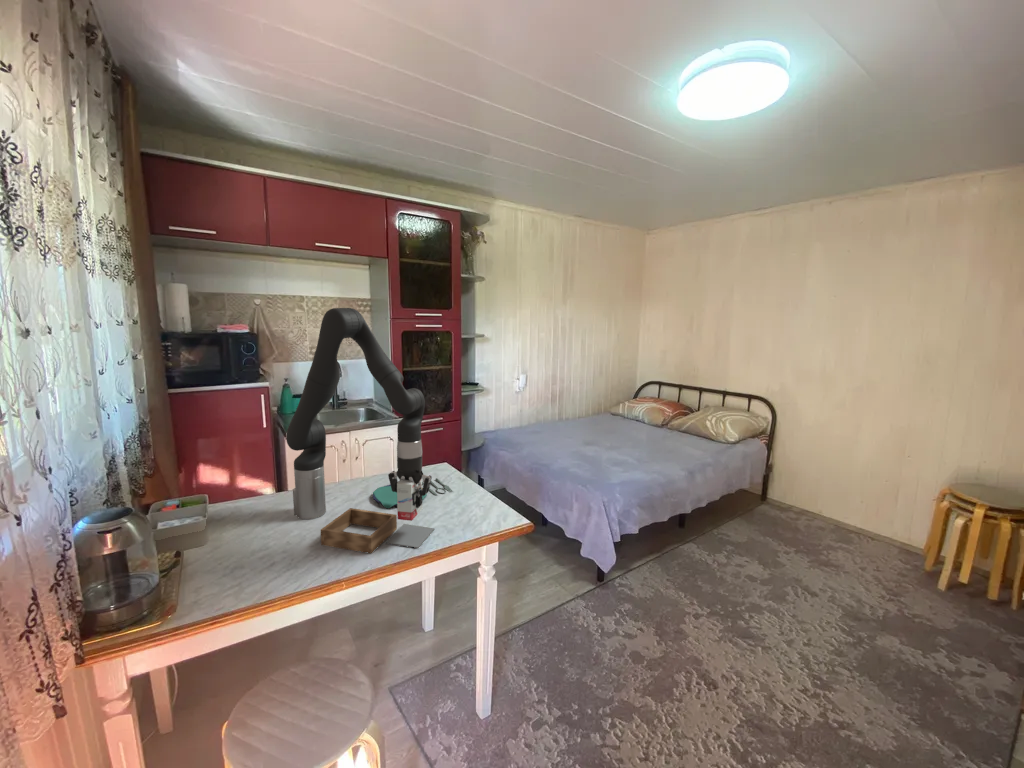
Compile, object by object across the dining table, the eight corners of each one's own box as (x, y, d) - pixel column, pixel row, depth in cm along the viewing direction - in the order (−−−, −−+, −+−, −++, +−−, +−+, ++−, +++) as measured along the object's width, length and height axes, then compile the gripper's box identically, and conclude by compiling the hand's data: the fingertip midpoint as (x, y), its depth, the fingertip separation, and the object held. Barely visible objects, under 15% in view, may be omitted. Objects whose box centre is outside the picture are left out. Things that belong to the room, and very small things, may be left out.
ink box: (411, 521, 127) (411, 484, 126) (396, 519, 128) (395, 483, 126) (423, 509, 136) (422, 474, 134) (409, 507, 137) (408, 472, 135)
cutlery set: (365, 493, 164) (365, 488, 164) (436, 479, 181) (436, 474, 181) (382, 514, 148) (382, 508, 148) (457, 496, 165) (458, 491, 165)
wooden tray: (321, 545, 127) (320, 529, 126) (350, 521, 141) (350, 508, 141) (371, 553, 123) (371, 537, 122) (396, 529, 138) (396, 514, 137)
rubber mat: (385, 543, 129) (385, 542, 129) (403, 525, 140) (403, 523, 140) (418, 549, 126) (418, 547, 126) (434, 529, 138) (434, 528, 138)
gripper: (382, 455, 127) (383, 507, 130) (425, 459, 124) (426, 514, 126) (394, 447, 134) (395, 498, 137) (436, 452, 131) (436, 503, 134)
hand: (410, 505), depth 132 cm, fingers closed on ink box, 5 cm apart
